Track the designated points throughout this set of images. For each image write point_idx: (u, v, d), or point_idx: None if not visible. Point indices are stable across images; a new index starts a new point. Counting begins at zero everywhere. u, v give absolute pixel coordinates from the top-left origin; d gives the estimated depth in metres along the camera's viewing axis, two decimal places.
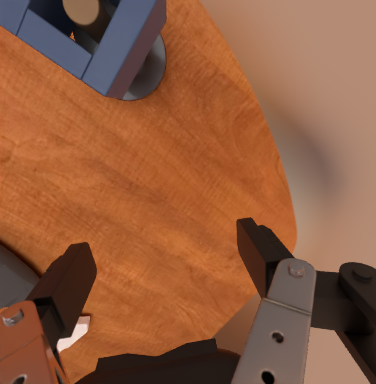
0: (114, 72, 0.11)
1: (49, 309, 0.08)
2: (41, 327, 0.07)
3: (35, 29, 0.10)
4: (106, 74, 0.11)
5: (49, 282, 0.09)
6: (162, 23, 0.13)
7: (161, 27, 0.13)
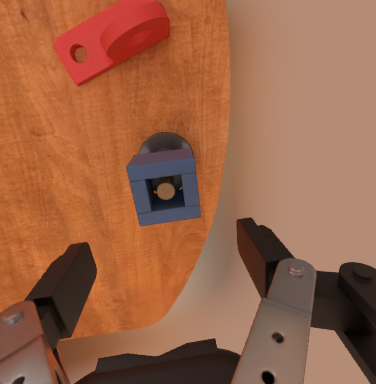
0: (153, 223, 0.20)
1: (49, 309, 0.08)
2: (41, 327, 0.07)
3: (139, 187, 0.18)
4: (149, 221, 0.20)
5: (49, 282, 0.09)
6: None
7: None
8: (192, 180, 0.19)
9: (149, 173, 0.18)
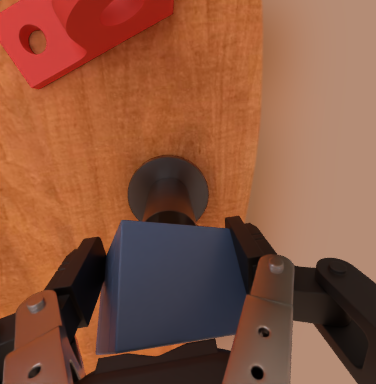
0: None
1: (68, 299, 0.08)
2: (60, 317, 0.07)
3: None
4: None
5: (67, 273, 0.09)
6: None
7: None
8: None
9: None
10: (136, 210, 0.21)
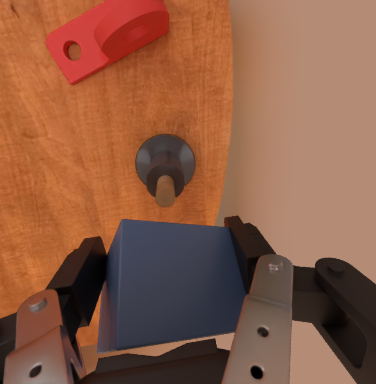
0: None
1: (69, 298, 0.08)
2: (61, 317, 0.07)
3: None
4: None
5: (68, 273, 0.09)
6: None
7: None
8: None
9: None
10: (141, 175, 0.28)
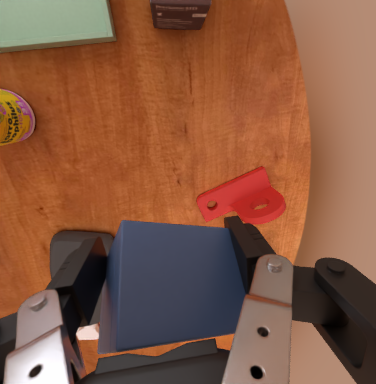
0: None
1: (70, 298, 0.08)
2: (61, 317, 0.07)
3: None
4: None
5: (68, 273, 0.09)
6: None
7: None
8: None
9: None
10: None
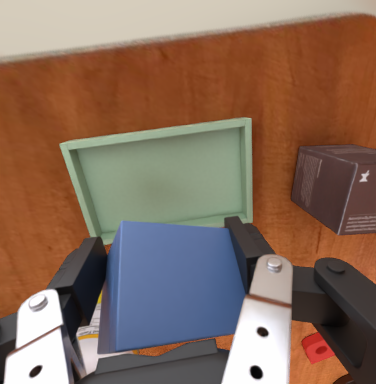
0: None
1: (70, 298, 0.08)
2: (62, 317, 0.07)
3: None
4: None
5: (68, 273, 0.09)
6: None
7: None
8: None
9: None
10: None
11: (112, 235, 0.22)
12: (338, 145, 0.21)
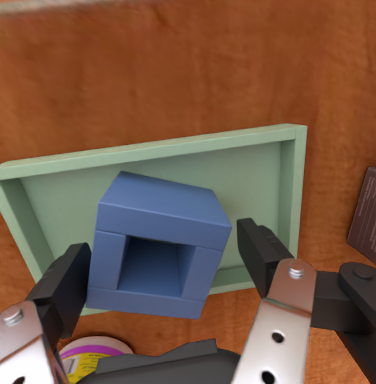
0: (112, 309, 0.10)
1: (49, 309, 0.08)
2: (41, 327, 0.07)
3: (110, 245, 0.09)
4: (106, 304, 0.10)
5: (49, 282, 0.09)
6: None
7: None
8: (211, 262, 0.10)
9: (139, 227, 0.09)
10: None
11: None
12: None
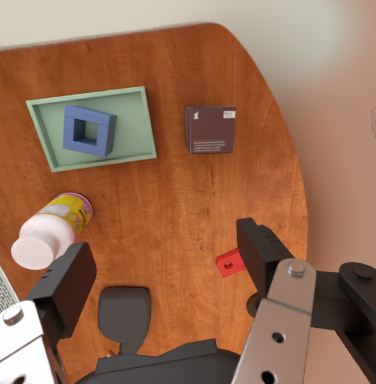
0: (71, 149, 0.30)
1: (49, 309, 0.08)
2: (41, 327, 0.07)
3: (69, 121, 0.29)
4: (69, 147, 0.30)
5: (49, 282, 0.09)
6: None
7: None
8: (104, 130, 0.29)
9: (78, 115, 0.28)
10: (250, 312, 0.50)
11: (64, 166, 0.34)
12: None
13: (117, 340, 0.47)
